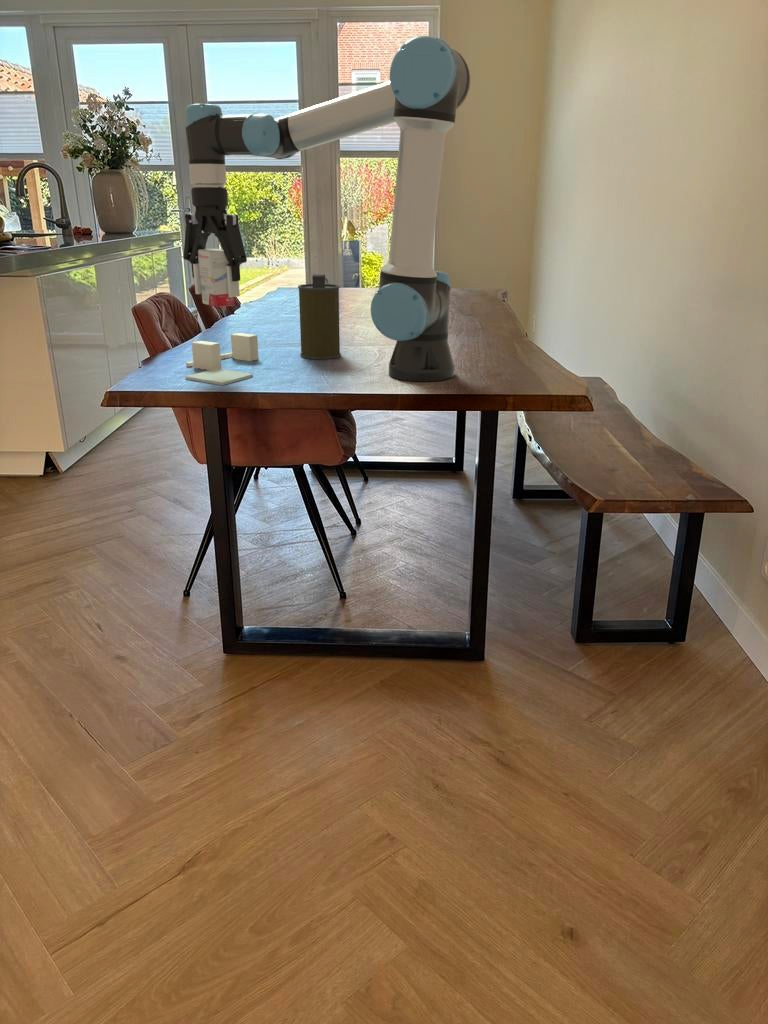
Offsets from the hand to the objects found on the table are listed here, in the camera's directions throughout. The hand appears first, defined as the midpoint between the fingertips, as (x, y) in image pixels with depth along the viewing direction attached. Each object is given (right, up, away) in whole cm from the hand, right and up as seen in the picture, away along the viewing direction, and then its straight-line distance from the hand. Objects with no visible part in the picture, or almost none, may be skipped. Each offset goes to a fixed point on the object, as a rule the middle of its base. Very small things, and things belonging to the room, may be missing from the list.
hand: (217, 295), depth 171 cm
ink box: (0, -2, +1) cm, 2 cm away
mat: (0, -18, +1) cm, 18 cm away
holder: (-2, -12, +16) cm, 20 cm away
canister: (+21, -8, +26) cm, 35 cm away
